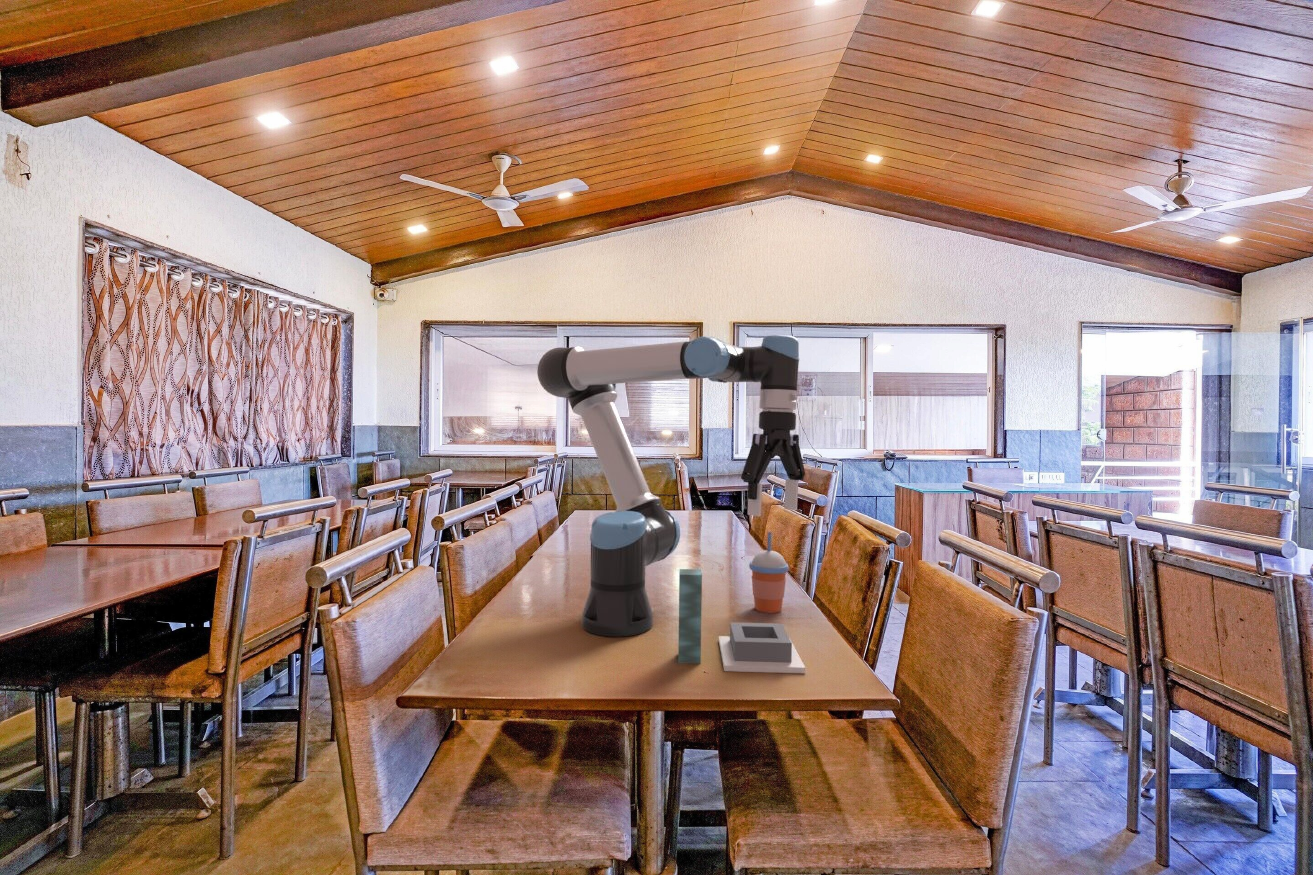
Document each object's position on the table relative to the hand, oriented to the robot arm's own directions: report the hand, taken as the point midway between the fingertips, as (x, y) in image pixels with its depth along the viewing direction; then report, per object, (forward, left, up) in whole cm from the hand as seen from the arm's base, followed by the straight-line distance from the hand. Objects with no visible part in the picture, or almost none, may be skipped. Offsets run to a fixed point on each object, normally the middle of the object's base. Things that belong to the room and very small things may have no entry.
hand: (773, 512), depth 122 cm
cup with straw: (+1, +14, -25) cm, 28 cm away
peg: (-18, -16, -25) cm, 34 cm away
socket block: (-5, -14, -25) cm, 29 cm away
